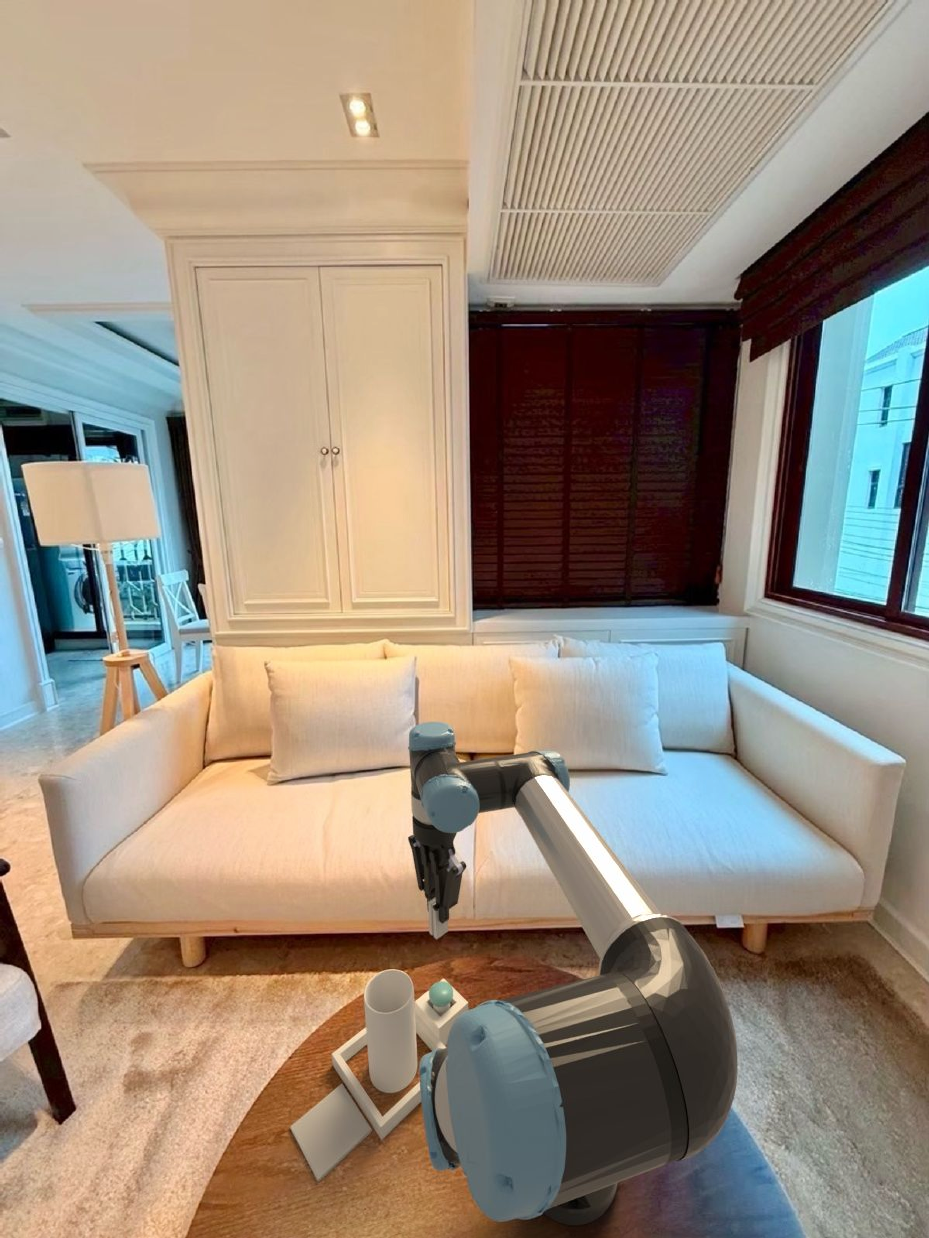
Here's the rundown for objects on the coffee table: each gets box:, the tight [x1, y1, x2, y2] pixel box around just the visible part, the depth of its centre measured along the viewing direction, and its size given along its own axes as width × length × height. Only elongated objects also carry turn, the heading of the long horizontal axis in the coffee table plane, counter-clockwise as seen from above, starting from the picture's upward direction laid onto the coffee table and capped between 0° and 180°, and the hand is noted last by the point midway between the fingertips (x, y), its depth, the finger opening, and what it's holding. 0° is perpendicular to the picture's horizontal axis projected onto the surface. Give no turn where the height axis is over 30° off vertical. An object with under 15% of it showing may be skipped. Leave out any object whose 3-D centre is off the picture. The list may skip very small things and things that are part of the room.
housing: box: [331, 978, 469, 1141], centre depth 92 cm, size 15×22×5 cm
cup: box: [363, 968, 418, 1094], centre depth 88 cm, size 8×8×16 cm
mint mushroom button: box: [428, 980, 454, 1016], centre depth 96 cm, size 4×4×5 cm
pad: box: [290, 1083, 372, 1183], centre depth 81 cm, size 9×9×1 cm
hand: (438, 931), depth 93 cm, fingers closed
